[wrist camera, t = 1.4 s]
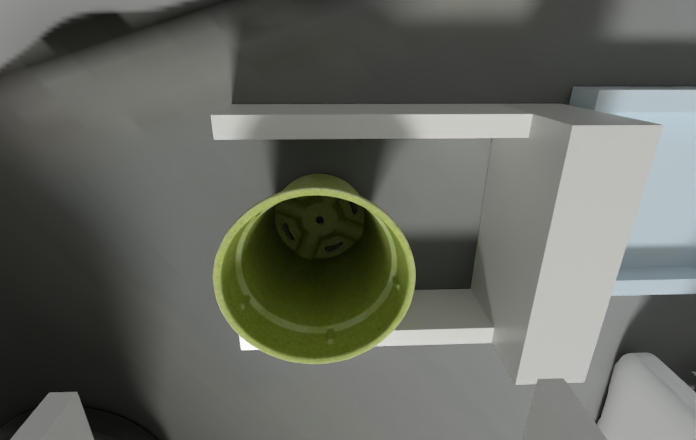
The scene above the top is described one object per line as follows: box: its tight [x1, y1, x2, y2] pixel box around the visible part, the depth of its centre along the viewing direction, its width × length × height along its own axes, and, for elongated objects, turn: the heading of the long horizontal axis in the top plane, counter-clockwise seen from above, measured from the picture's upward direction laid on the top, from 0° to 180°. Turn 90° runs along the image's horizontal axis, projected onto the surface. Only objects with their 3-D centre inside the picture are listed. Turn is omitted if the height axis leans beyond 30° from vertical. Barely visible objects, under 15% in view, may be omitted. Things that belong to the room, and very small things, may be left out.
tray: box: [569, 86, 696, 296], centre depth 26 cm, size 13×13×2 cm
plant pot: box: [213, 174, 416, 364], centre depth 22 cm, size 9×9×9 cm
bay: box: [211, 104, 664, 385], centre depth 23 cm, size 20×14×8 cm
